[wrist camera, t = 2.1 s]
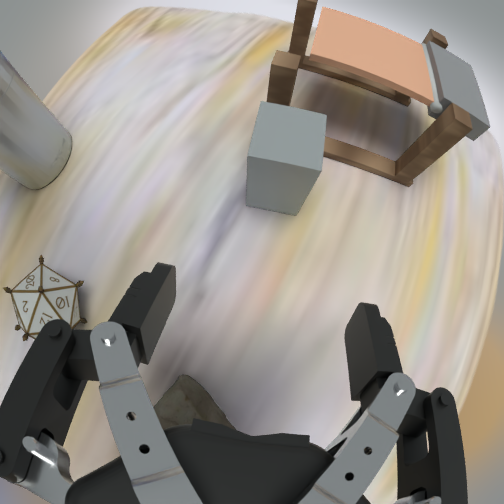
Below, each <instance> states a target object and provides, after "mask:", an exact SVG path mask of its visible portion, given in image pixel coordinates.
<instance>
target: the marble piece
mask: <svg viewBox="0 0 504 504" xmlns="http://www.w3.org/2000/svg"><path fill="white" fill-rule="evenodd" d="M154 411H155V413H156V415H157V418H158V420H159V422H160V424H161V427H162V429H163V430H164V429H166V428H169V427H172V426H177V425H184V424H192V422H193V418H196V419H200V420H204V421H209V422H214V423H218V424H223V425H225V426H227V427H230V428H232V429H234V430H236V429H235V428H234V427H233V426H232V425H231V424H230V422H229V421H228V420H227V418H226V416H225V414H224V413H223V412H222V411H221V410H220V409H219V407H218V406H217V405H216V403H215V402H214V400H213V399H212V397H211V396H210V395H209V394H208V392H207V391H205V390H204V388H203V387H202V386H201V385H200V384H198V383H197V382H196V381H195V380H194V379H192V378H191V377H189V376H187V375H181V376H179V378H178V380H177V381H176V382H175V384H174V385H173V386H172V387H171V388H170V389H169V390H168V391H167V392H166V393H165V394H164V395H163V397H162V398H161V399H160V401H159V402H158V403H157V404H156V405H155V406H154Z"/></svg>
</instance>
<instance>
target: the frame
mask: <svg viewBox="0 0 504 504" xmlns="http://www.w3.org/2000/svg"><path fill="white" fill-rule="evenodd" d="M317 1H318V0H298V4H297V9H296V15H295V21H294V26H293V32H292V37H291V43H290V49H289V51H288V53H287V52H283V51H278V50H277V51H276V53H275V56H274V58H273V61H272V63H271V70H270V78H269V87H268V95H267V102H269V103H275V104H280V105H285V106H290V102H291V98H292V93H293V89H294V85H295V80H296V76H297V71H298V68H302V69H305V70H309V71H313V72H316V73H320V74H323V75H326V76H330V77H333V78H336V79H339V80H342V81H345V82H348V83H351V84H354V85H357V86H359V87H362V88H365V89H368V90H370V91H373V92H375V93H378V94H380V95H383V96H385V97H388V98H390V99H392V100H395V101H397V102H399V103H401V104H404V105H406V106H409V104H410V103H411V99H410V97H409V96H407V95H405V94H403V93H401V92H398V91H396V90H394V89H392V88H389V87H387V86H384V85H382V84H380V83H377V82H375V81H372V80H369V79H367V78H364V77H361V76H359V75H356V74H353V73H350V72H347V71H344V70H341V69H338V68H335V67H332V66H329V65H325V64H322V63H318V62H315V61H311V60H309V58H310V57H309V56H305V52H306V48H307V43H308V39H309V35H310V31H311V27H312V22H313V18H314V14H315V10H316V5H317ZM428 41H431V42H433V43H435V44H437V45H439V46H440V47H442V48H444V49H446V47H447V46H448V43H447V41H446V38H445V37H444V36H443V35H441V34H439V33H438V32H436V31H434V30H432V29H430V31H429V33H428V34H427V36H426V37H425V39H424V41H423V42H422V43H424V44H426V45H427V43H428ZM471 130H473V129H472V124H471V119H470V115H469V112H467V111H466V110H464V109H463V108H461V107H459V106H458V105H456V104H454V103H453V102H452V103H451V104H450V105H449V106H448V107H447V109H446V110H445V111H444V112H443V113H442V114H441V115H440V116H439V117H438V118H437V119H436V120H435V121H434V122H433V123H432V125H431V126H430V127H429V128H428V129H427V130H426V131H425V132H424V133H423V134H422V135H421V136H420V137H419V138H418V139H417V140H416V141H415V142H414V143H413V144H412V145H411V146H410V147H409V148H408V149H407V150H406V151H405V153H404V154H403V155H402V156H401V157H400V158H399V159H398V160H397V161H396V162H395V161H393V160H390V159H388V158H385V157H383V156H380V155H377V154H375V153H372V152H370V151H367V150H364V149H361V148H359V147H356V146H353V145H350V144H347V143H344V142H341V141H338V140H335V139H332V138H329V137H326V136H325V143H324V153H323V156H324V157H328V158H331V159H334V160H337V161H340V162H343V163H346V164H349V165H352V166H355V167H358V168H361V169H363V170H366V171H369V172H372V173H374V174H377V175H380V176H382V177H385V178H388V179H390V180H393V181H395V182H398V183H400V184H403V185H405V186H408V187H409V186H411V185H412V184H413V179H414V178H415V177H416V176H418V175H419V174H420V173H421V172H423V171H424V170H425V169H426V168H428V167H429V166H430V165H431V164H432V163H434V162H435V161H436V160H437V159H438V158H440V157H441V156H442V155H443V154H444V153H446V152H447V151H448V150H449V149H450V148H452V147H453V146H454V145H455V144H456V143H457V142H459V141H460V140H461V139H462V138H463V137H464V136H466V135H467V134H468V133H469V132H470V131H471Z"/></svg>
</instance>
